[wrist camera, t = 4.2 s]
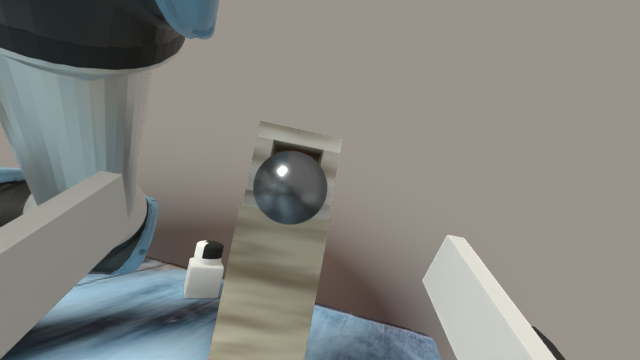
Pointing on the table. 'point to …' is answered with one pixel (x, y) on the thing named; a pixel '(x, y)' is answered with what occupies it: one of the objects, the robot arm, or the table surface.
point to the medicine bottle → (204, 271)
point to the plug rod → (290, 187)
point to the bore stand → (274, 262)
